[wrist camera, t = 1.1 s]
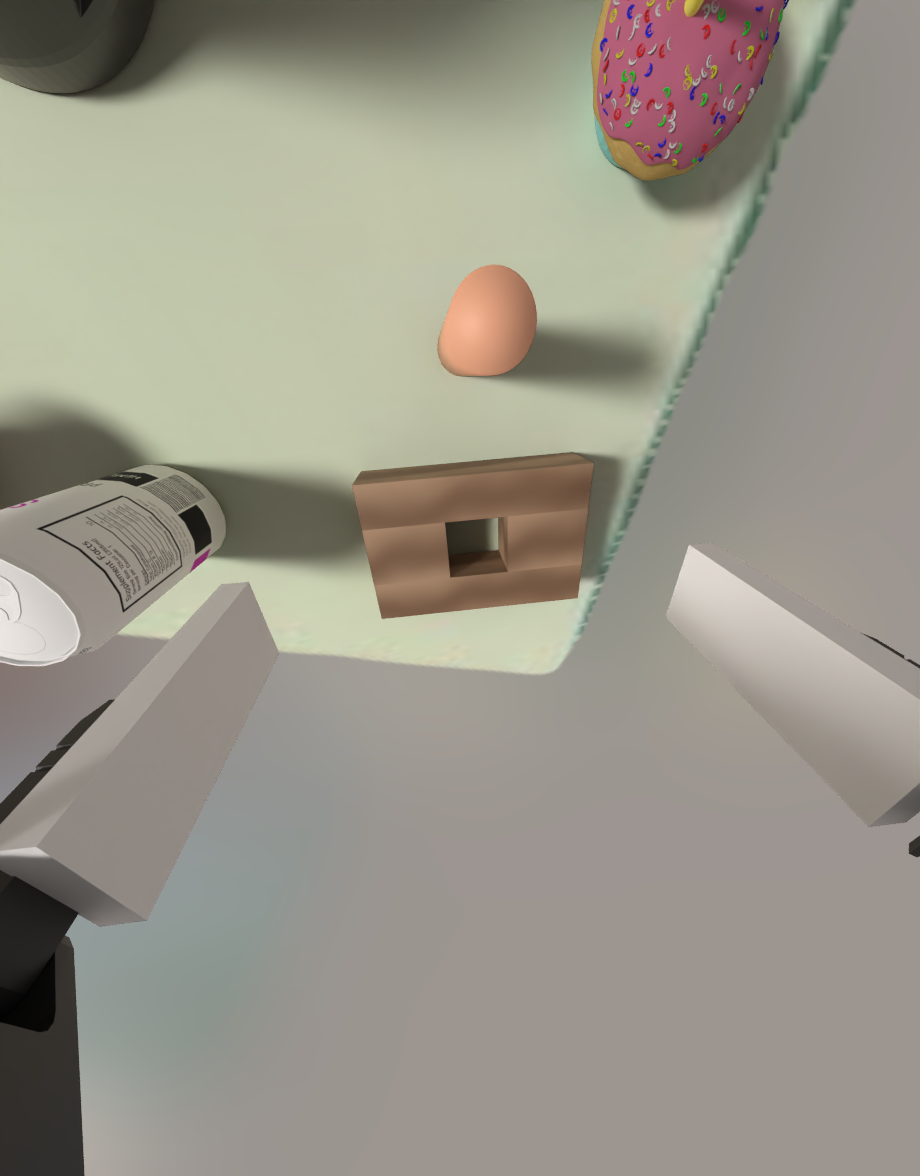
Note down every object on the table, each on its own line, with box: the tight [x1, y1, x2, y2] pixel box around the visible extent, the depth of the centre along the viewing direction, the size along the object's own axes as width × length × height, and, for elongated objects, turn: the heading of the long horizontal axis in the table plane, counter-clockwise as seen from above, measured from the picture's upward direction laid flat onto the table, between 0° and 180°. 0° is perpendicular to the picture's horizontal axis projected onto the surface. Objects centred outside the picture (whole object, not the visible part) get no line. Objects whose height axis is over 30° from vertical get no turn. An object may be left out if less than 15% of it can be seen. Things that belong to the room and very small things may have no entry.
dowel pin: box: [438, 265, 537, 376], centre depth 20 cm, size 4×4×14 cm
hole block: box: [352, 452, 594, 619], centre depth 31 cm, size 12×18×4 cm, turn 94°
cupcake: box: [592, 0, 789, 180], centre depth 16 cm, size 9×8×12 cm
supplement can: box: [0, 465, 226, 666], centre depth 24 cm, size 8×8×15 cm
